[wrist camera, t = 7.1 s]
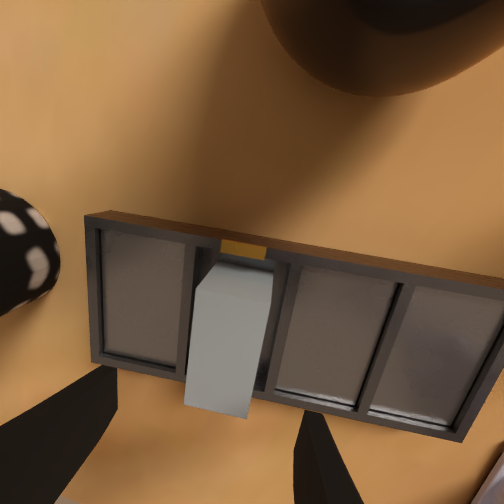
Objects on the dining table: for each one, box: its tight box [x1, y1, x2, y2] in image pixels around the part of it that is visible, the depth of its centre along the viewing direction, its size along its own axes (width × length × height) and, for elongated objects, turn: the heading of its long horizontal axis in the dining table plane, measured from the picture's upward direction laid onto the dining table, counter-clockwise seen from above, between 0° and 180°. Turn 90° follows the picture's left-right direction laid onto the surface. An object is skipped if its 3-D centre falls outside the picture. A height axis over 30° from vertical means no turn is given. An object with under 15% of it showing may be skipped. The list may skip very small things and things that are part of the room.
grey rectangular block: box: [184, 261, 274, 419], centre depth 14 cm, size 7×4×4 cm, turn 170°
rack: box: [84, 210, 504, 443], centre depth 15 cm, size 10×24×2 cm, turn 81°
